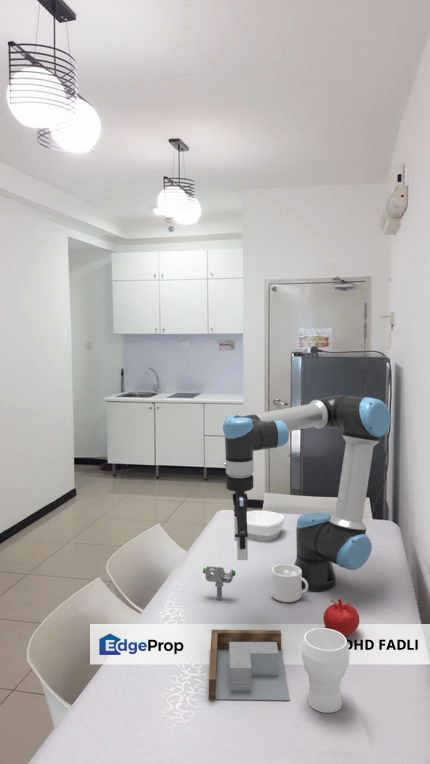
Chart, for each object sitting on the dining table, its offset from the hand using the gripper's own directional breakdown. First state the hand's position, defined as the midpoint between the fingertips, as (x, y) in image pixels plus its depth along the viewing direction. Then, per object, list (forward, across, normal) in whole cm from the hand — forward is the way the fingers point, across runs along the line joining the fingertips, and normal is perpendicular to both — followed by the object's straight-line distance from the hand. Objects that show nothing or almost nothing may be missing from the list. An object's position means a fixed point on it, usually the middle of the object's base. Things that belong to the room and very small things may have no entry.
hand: (240, 549), depth 152 cm
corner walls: (+24, +8, -7) cm, 27 cm away
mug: (+26, -22, +17) cm, 37 cm away
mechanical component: (+25, -21, -6) cm, 33 cm away
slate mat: (+24, +8, -7) cm, 27 cm away
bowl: (+26, -73, +13) cm, 79 cm away
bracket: (+24, +18, +2) cm, 30 cm away
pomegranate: (+25, -1, +28) cm, 38 cm away
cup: (+25, +29, +17) cm, 42 cm away
